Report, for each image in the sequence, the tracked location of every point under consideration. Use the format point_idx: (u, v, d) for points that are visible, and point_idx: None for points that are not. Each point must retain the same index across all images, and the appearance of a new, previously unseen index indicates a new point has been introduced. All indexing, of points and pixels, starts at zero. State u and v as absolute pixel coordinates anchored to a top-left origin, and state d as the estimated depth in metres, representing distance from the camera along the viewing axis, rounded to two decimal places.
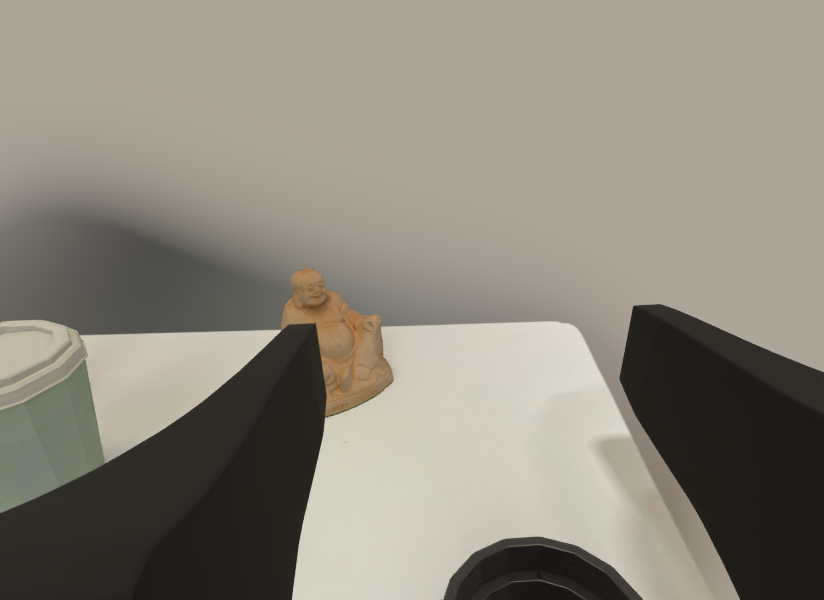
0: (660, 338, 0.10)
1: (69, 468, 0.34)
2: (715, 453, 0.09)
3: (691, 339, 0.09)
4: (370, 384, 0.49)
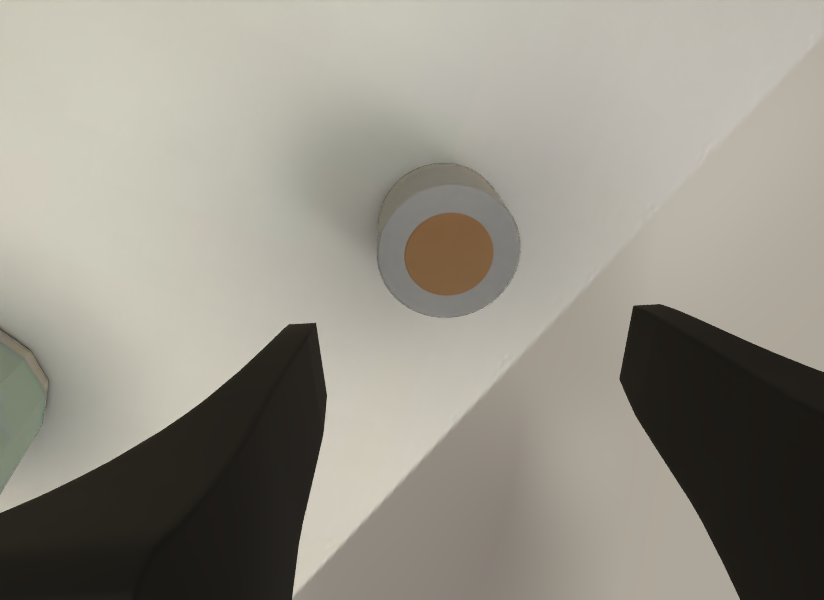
0: (660, 339, 0.10)
1: None
2: (715, 453, 0.09)
3: (691, 339, 0.09)
4: None
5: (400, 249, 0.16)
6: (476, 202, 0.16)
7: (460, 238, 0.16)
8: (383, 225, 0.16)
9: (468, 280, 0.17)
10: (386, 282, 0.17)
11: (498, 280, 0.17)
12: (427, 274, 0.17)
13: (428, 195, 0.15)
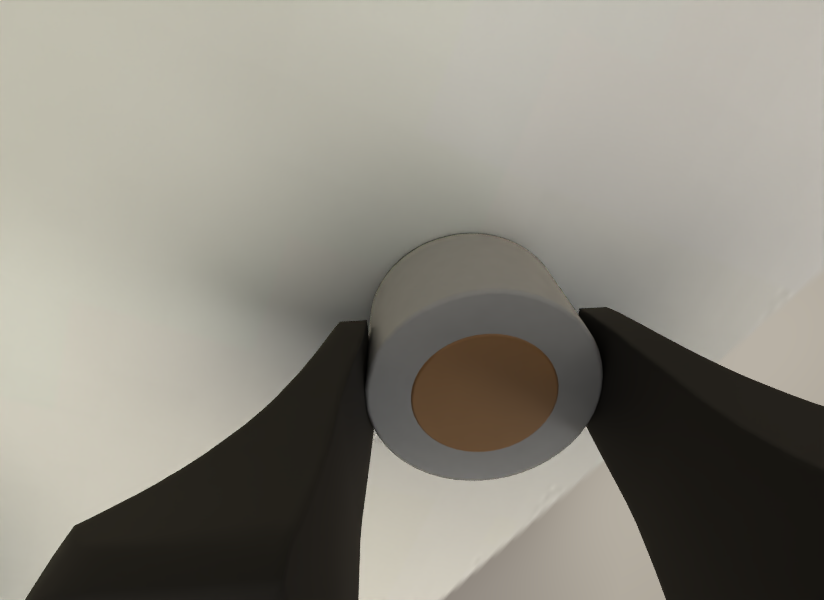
0: (601, 342, 0.10)
1: None
2: (646, 457, 0.09)
3: (625, 343, 0.09)
4: None
5: (404, 388, 0.10)
6: (535, 318, 0.09)
7: (504, 373, 0.10)
8: (375, 352, 0.09)
9: (515, 431, 0.10)
10: (380, 436, 0.10)
11: (563, 430, 0.10)
12: (448, 423, 0.10)
13: (454, 307, 0.09)
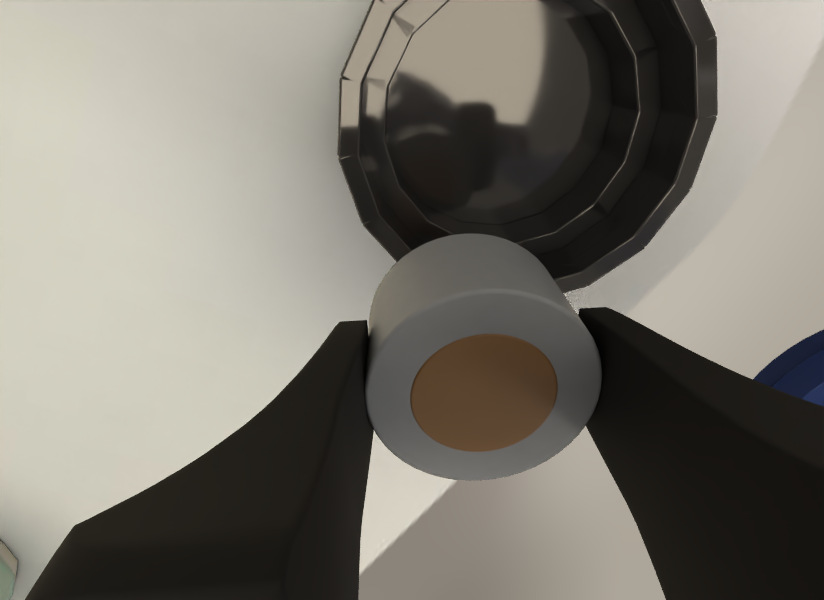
0: (600, 342, 0.10)
1: None
2: (646, 457, 0.09)
3: (625, 343, 0.09)
4: None
5: (403, 388, 0.10)
6: (535, 318, 0.09)
7: (503, 372, 0.10)
8: (375, 352, 0.09)
9: (514, 431, 0.10)
10: (379, 435, 0.10)
11: (562, 430, 0.10)
12: (447, 423, 0.10)
13: (453, 307, 0.09)
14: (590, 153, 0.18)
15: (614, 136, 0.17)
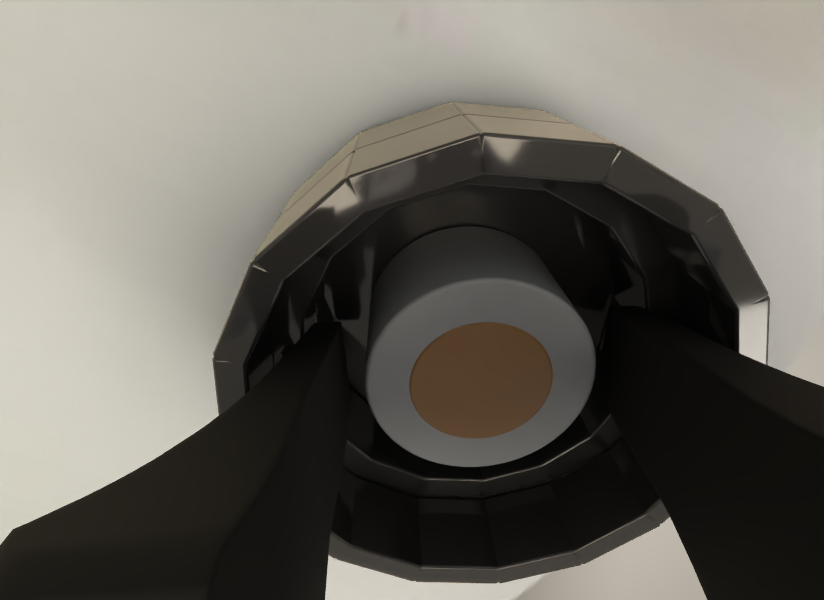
0: (634, 340, 0.10)
1: None
2: (685, 455, 0.09)
3: (662, 341, 0.09)
4: None
5: (403, 375, 0.10)
6: (530, 307, 0.09)
7: (500, 360, 0.10)
8: (375, 340, 0.10)
9: (510, 418, 0.11)
10: (379, 422, 0.11)
11: (557, 417, 0.11)
12: (445, 409, 0.10)
13: (451, 296, 0.09)
14: None
15: None
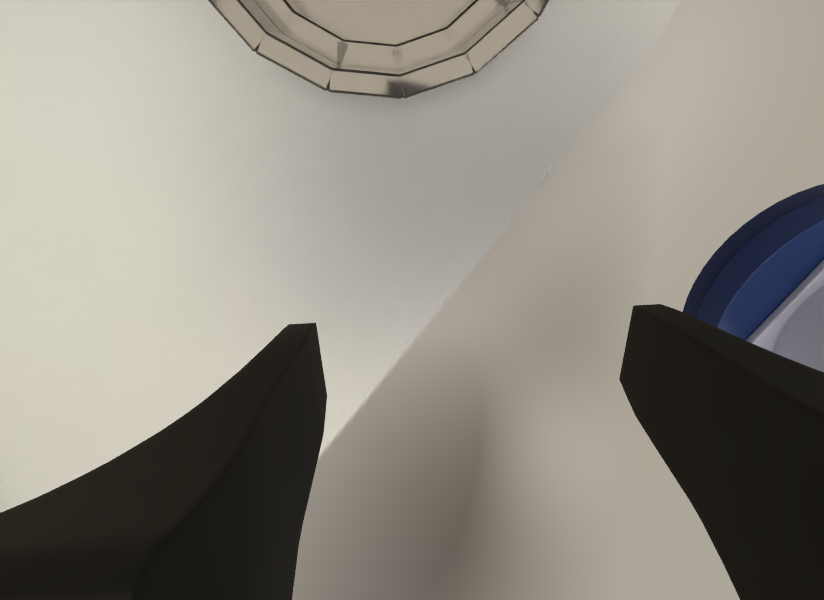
0: (660, 339, 0.10)
1: None
2: (715, 453, 0.09)
3: (691, 339, 0.09)
4: None
5: None
6: None
7: None
8: None
9: None
10: None
11: None
12: None
13: None
14: None
15: None
